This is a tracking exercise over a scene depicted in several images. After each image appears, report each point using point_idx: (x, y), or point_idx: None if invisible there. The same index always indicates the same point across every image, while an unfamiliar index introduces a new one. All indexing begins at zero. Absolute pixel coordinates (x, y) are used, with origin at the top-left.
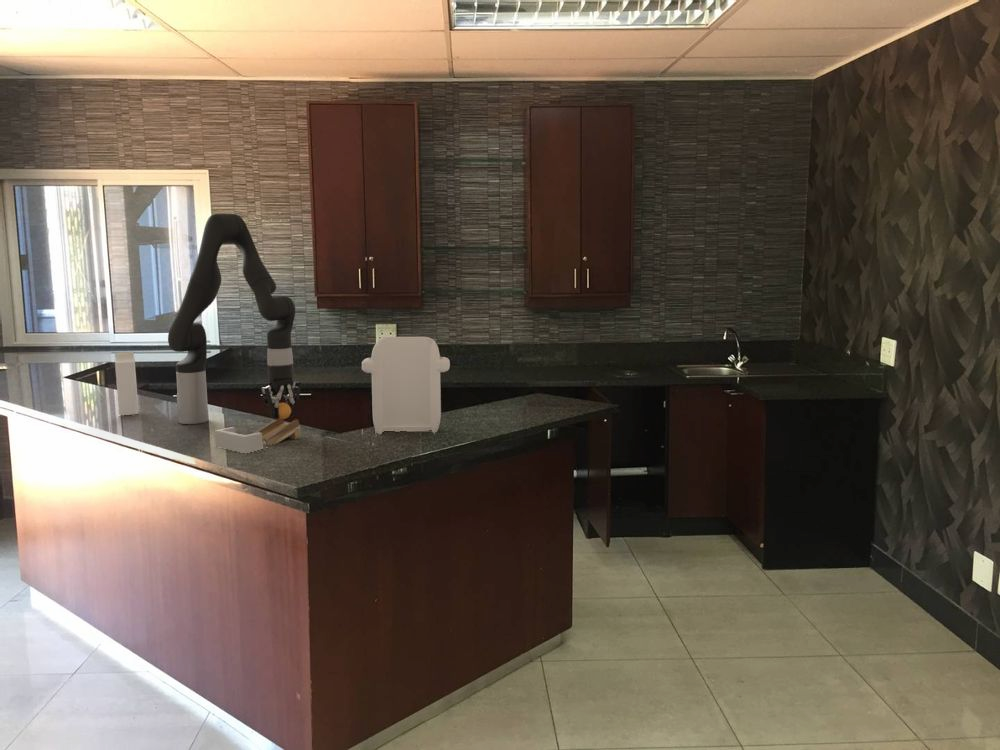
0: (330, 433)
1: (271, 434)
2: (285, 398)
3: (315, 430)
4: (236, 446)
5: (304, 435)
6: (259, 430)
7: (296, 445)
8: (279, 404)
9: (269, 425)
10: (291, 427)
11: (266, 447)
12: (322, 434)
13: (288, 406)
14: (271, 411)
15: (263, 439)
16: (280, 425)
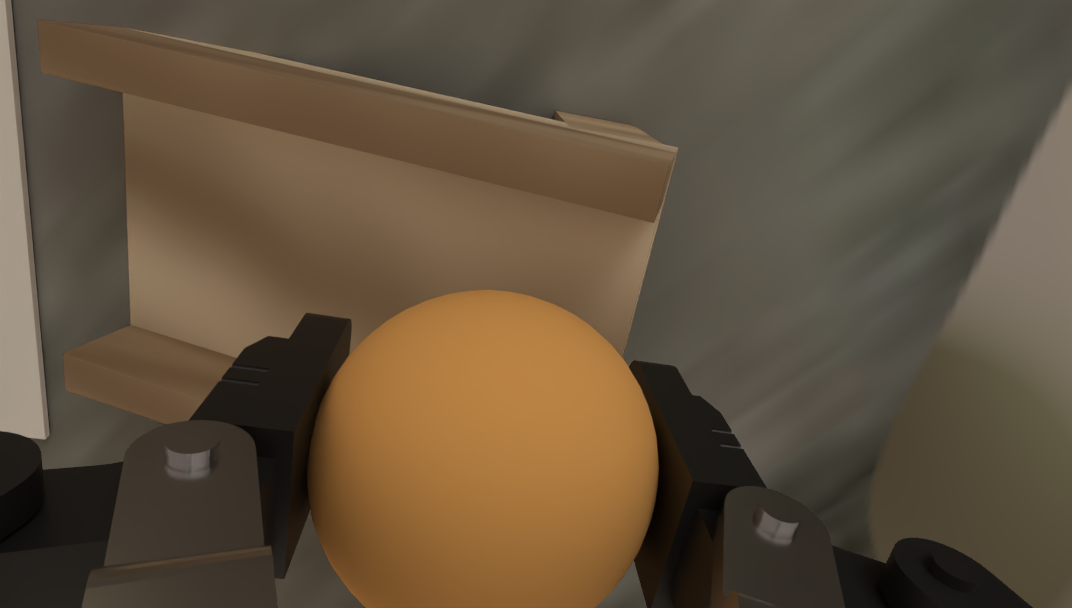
0: (838, 522)
1: (325, 229)
2: (719, 596)
3: (929, 326)
4: None
5: (683, 374)
6: (196, 96)
7: (309, 561)
8: (380, 568)
9: (374, 153)
10: None
11: (38, 417)
12: (779, 489)
13: None
14: (207, 409)
15: (209, 192)
16: (562, 204)
